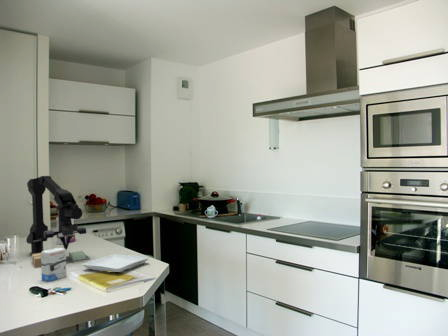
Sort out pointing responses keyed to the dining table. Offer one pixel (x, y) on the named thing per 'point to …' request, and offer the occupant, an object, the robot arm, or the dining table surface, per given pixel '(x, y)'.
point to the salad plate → (115, 263)
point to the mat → (75, 260)
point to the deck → (36, 260)
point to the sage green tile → (77, 255)
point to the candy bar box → (65, 236)
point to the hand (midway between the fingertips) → (65, 249)
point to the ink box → (53, 264)
